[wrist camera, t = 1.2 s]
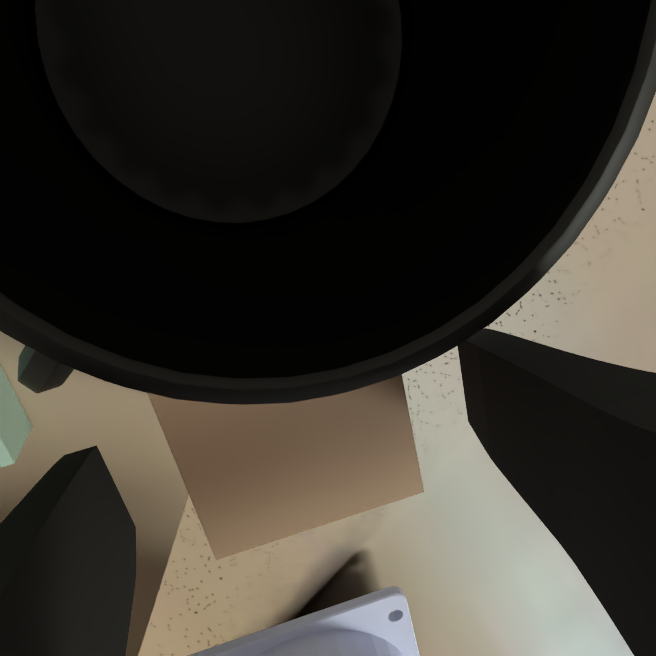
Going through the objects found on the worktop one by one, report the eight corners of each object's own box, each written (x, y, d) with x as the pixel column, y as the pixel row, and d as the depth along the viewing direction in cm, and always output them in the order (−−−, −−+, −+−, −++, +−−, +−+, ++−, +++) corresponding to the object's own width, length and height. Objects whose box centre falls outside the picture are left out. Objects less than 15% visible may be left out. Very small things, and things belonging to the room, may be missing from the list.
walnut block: (355, 369, 18) (424, 492, 13) (209, 413, 18) (216, 560, 12) (322, 225, 16) (387, 298, 11) (157, 271, 16) (138, 371, 10)
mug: (-114, 192, 14) (-570, 354, 6) (150, -335, 11) (35, -1425, 3) (233, 373, 17) (268, 635, 9) (490, 2, 15) (852, -97, 7)
